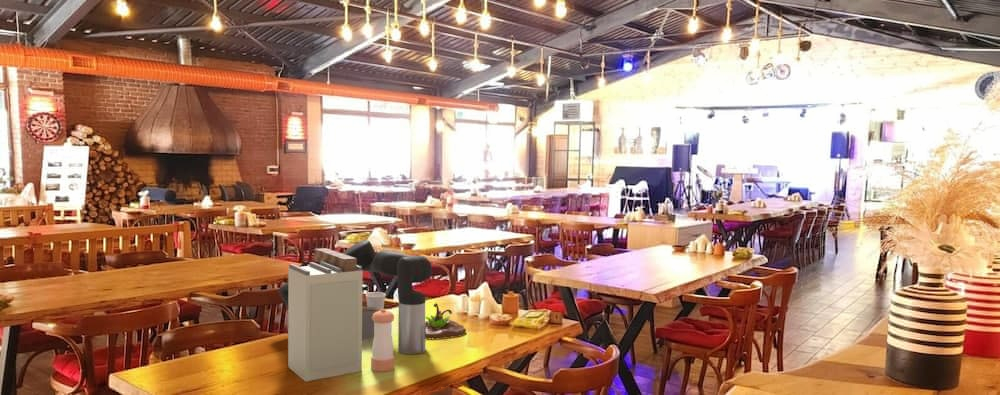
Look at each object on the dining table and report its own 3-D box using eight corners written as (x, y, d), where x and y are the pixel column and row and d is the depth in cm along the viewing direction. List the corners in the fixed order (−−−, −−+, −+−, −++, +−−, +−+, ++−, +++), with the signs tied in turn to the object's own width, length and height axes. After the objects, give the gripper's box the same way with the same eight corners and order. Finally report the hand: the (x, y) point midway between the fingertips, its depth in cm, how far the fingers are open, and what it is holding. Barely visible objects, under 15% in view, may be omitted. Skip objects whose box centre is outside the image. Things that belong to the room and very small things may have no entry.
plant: (451, 324, 265) (452, 297, 265) (471, 335, 248) (472, 307, 247) (405, 328, 256) (405, 301, 256) (422, 341, 239) (423, 311, 238)
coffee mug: (381, 337, 242) (381, 310, 242) (355, 340, 237) (355, 313, 237) (369, 328, 254) (369, 303, 253) (344, 331, 249) (344, 306, 248)
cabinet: (288, 367, 206) (288, 263, 204) (341, 357, 216) (342, 259, 214) (306, 382, 192) (306, 271, 190) (362, 371, 203) (363, 267, 201)
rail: (314, 260, 219) (314, 248, 219) (325, 259, 221) (325, 248, 221) (344, 272, 198) (344, 259, 198) (356, 271, 200) (356, 258, 200)
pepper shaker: (373, 363, 211) (374, 306, 209) (396, 364, 210) (396, 306, 209) (368, 371, 203) (369, 311, 202) (391, 371, 203) (392, 311, 202)
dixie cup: (375, 321, 266) (375, 297, 265) (361, 318, 270) (361, 294, 270) (389, 317, 273) (389, 293, 272) (375, 314, 277) (375, 291, 277)
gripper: (283, 271, 230) (296, 254, 218) (321, 268, 239) (336, 251, 227) (286, 291, 227) (300, 274, 216) (325, 287, 236) (340, 271, 224)
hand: (318, 262), depth 221 cm, fingers open, 8 cm apart
